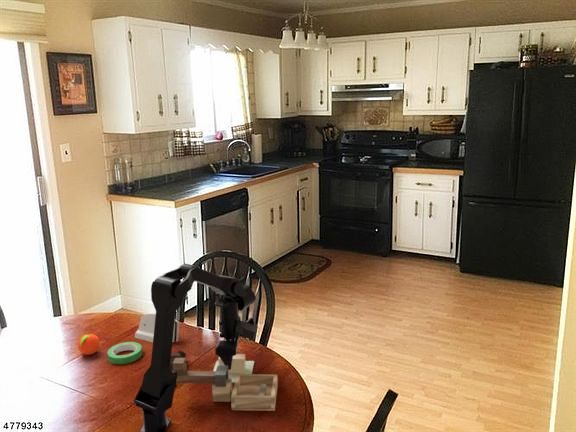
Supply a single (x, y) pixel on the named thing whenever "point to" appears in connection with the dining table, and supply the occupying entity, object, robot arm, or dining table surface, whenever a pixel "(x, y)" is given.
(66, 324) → the dining table surface
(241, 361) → the lid
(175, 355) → the bolt
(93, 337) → the clementine
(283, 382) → the dining table surface
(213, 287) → the robot arm
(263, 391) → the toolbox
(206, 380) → the key
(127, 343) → the tape roll
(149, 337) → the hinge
